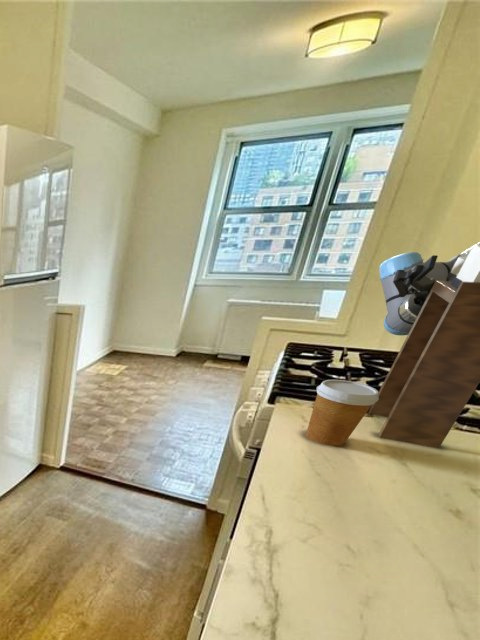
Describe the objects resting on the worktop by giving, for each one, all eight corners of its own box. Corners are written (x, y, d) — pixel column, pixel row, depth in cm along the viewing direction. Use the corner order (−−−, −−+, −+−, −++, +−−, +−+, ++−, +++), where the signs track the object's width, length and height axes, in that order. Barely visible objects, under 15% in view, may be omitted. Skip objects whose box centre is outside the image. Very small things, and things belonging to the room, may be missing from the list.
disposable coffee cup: (361, 443, 101) (390, 389, 95) (341, 455, 97) (369, 399, 91) (308, 426, 108) (331, 375, 103) (287, 436, 104) (310, 384, 98)
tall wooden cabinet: (420, 421, 110) (506, 273, 94) (438, 449, 98) (538, 286, 83) (367, 412, 114) (440, 270, 99) (378, 438, 103) (463, 282, 87)
